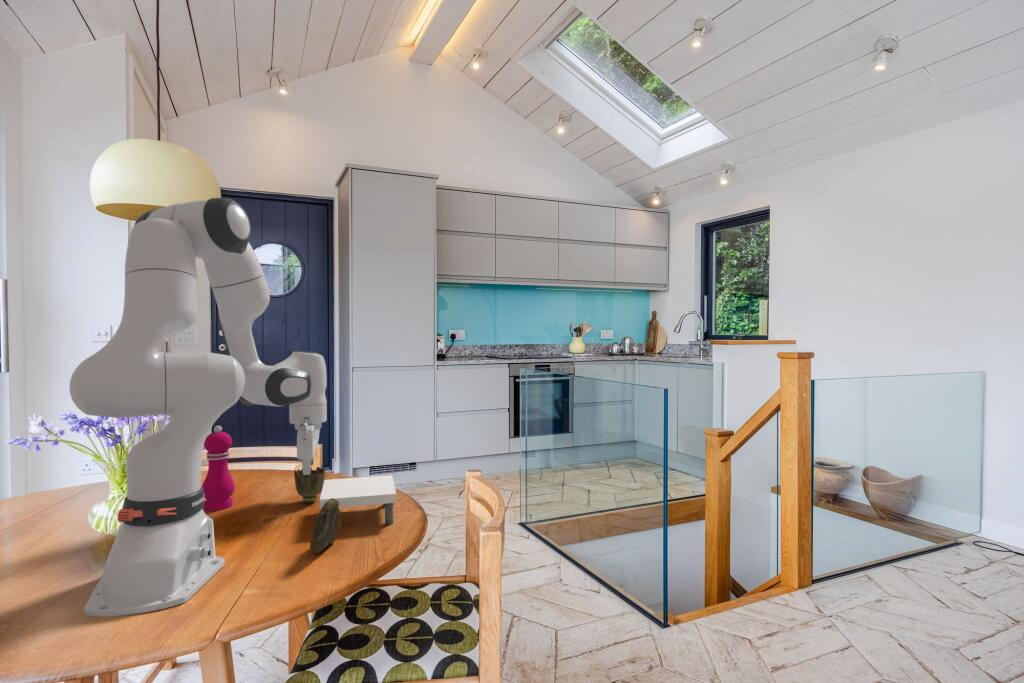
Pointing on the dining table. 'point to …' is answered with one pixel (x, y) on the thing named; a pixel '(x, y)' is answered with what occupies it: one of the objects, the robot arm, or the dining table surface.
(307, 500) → the cup
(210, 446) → the pepper mill
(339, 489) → the footstool
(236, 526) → the dining table surface
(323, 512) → the decorative stone
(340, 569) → the dining table surface
